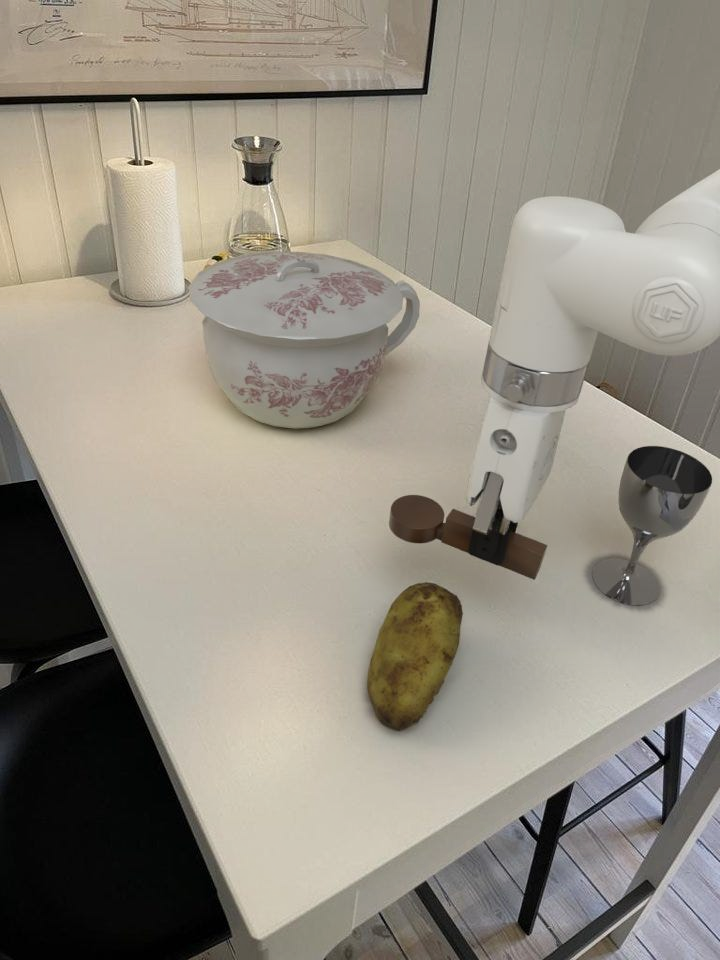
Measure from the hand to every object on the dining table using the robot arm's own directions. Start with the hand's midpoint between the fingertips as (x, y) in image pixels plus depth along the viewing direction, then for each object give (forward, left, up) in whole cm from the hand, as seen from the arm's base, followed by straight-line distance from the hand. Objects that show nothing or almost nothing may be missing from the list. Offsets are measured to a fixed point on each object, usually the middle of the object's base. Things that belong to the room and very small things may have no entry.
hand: (489, 549), depth 68 cm
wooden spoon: (+3, 0, -1) cm, 3 cm away
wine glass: (-12, -15, -11) cm, 22 cm away
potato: (+3, +9, -11) cm, 14 cm away
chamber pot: (+37, -27, -11) cm, 47 cm away
